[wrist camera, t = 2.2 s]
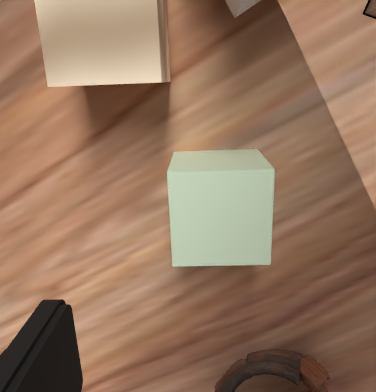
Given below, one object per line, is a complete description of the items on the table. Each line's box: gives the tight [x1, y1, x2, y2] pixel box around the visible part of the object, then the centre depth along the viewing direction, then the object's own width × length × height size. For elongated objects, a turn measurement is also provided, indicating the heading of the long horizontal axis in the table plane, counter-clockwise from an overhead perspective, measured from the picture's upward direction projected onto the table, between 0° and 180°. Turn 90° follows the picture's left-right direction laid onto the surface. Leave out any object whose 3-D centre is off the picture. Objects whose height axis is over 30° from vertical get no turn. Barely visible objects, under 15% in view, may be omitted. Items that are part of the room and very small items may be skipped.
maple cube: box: [34, 0, 171, 87], centre depth 17 cm, size 5×5×5 cm
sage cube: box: [167, 149, 275, 267], centre depth 19 cm, size 5×5×5 cm
